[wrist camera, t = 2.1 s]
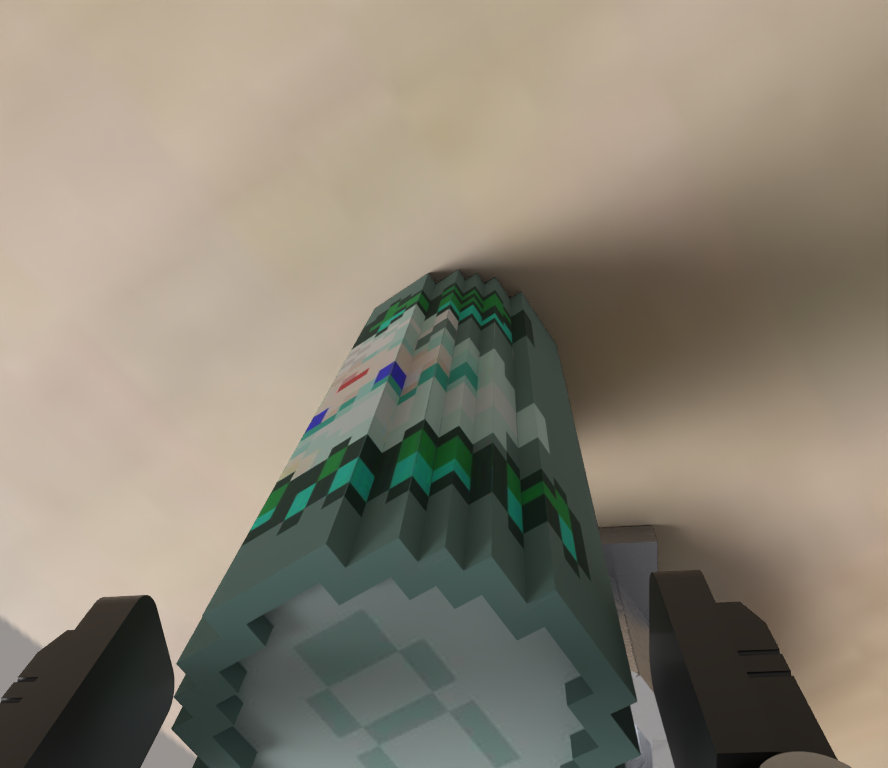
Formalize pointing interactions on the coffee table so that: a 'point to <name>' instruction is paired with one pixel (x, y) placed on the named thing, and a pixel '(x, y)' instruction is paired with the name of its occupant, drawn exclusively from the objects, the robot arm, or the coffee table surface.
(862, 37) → the coffee table surface
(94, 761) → the robot arm
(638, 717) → the collar holder
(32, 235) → the coffee table surface
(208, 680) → the can
